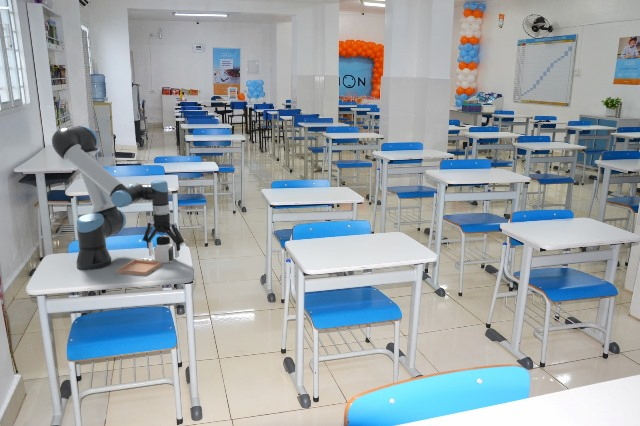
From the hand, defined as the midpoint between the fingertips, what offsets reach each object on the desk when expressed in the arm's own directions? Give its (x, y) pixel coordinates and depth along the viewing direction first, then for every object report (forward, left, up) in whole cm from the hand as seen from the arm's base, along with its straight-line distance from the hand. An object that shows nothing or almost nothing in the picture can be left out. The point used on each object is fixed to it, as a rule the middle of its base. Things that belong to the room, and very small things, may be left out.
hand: (164, 256), depth 253 cm
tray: (-5, -13, -2) cm, 15 cm away
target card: (-9, -3, -2) cm, 10 cm away
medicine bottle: (0, 0, -2) cm, 2 cm away
